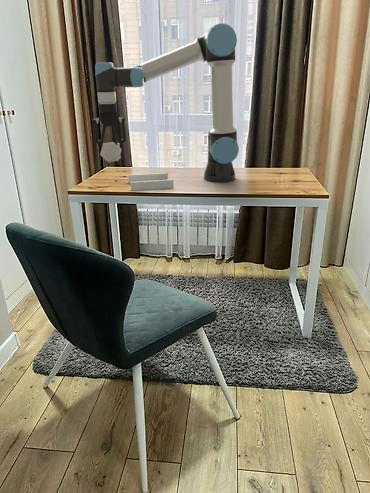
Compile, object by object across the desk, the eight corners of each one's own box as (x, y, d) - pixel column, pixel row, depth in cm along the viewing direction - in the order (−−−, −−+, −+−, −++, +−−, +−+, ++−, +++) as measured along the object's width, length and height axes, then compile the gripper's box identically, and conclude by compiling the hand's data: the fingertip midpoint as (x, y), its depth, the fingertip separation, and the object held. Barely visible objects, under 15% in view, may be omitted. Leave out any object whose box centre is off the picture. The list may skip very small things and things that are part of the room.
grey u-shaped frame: (167, 179, 193) (167, 172, 192) (173, 187, 180) (173, 179, 178) (128, 182, 189) (127, 175, 188) (131, 190, 176) (130, 182, 175)
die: (121, 164, 170) (126, 143, 172) (103, 156, 165) (108, 135, 167) (113, 168, 177) (117, 148, 179) (95, 160, 172) (100, 140, 174)
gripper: (128, 101, 172) (132, 156, 182) (84, 103, 169) (90, 158, 178) (130, 102, 166) (134, 159, 175) (84, 104, 162) (91, 161, 171)
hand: (112, 158), depth 176 cm, fingers closed on die, 6 cm apart
